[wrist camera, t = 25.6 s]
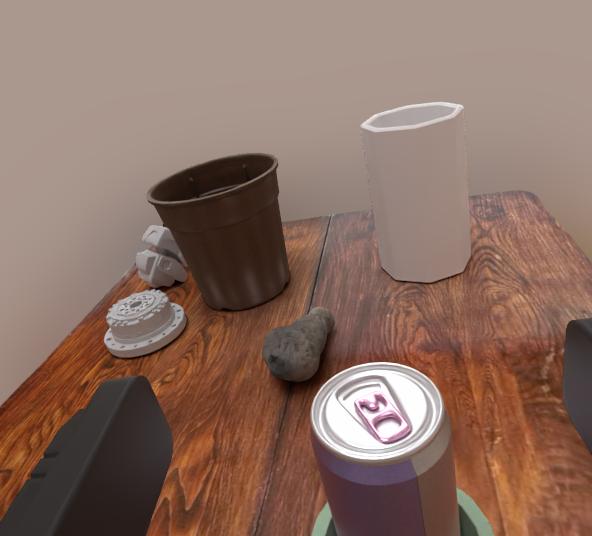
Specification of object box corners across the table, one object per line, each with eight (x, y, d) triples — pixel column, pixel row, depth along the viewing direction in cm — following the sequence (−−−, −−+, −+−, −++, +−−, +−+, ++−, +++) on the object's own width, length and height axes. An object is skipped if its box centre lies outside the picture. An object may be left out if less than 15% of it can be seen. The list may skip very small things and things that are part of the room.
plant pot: (215, 340, 55) (169, 212, 48) (172, 293, 68) (130, 186, 61) (328, 281, 62) (302, 160, 54) (269, 248, 75) (242, 147, 67)
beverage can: (391, 689, 24) (340, 490, 17) (341, 576, 29) (286, 390, 22) (491, 630, 25) (481, 423, 18) (426, 532, 30) (399, 343, 23)
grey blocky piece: (183, 296, 71) (202, 231, 71) (143, 288, 66) (164, 219, 66) (163, 287, 75) (181, 226, 75) (124, 279, 70) (144, 214, 70)
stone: (319, 329, 54) (256, 306, 51) (346, 300, 51) (280, 274, 48) (325, 407, 47) (252, 386, 44) (357, 379, 44) (281, 354, 41)
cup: (419, 235, 68) (405, 101, 59) (490, 253, 59) (486, 100, 51) (363, 269, 62) (339, 128, 54) (433, 294, 54) (417, 131, 46)
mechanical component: (158, 362, 54) (201, 311, 62) (144, 330, 52) (191, 282, 60) (91, 357, 58) (140, 310, 66) (76, 327, 56) (129, 282, 64)
